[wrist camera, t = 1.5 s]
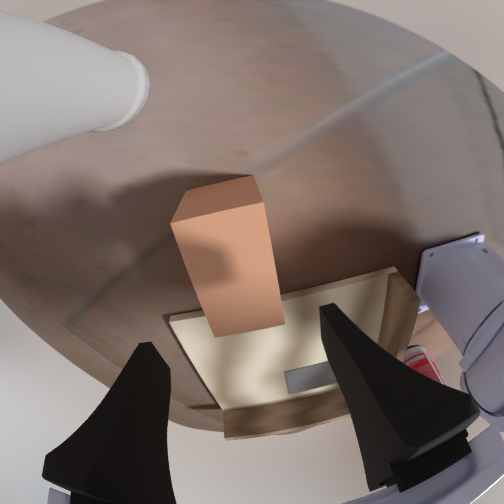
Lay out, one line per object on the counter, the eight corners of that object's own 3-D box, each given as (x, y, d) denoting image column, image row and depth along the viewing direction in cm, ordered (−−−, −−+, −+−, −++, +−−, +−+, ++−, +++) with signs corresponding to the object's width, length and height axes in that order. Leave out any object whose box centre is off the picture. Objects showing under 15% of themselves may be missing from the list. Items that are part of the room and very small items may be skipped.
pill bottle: (377, 373, 31) (406, 441, 21) (407, 342, 28) (445, 412, 18) (404, 374, 32) (432, 433, 23) (431, 345, 30) (466, 406, 20)
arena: (393, 266, 22) (421, 299, 18) (373, 375, 31) (385, 404, 27) (170, 315, 22) (161, 358, 18) (225, 409, 31) (226, 440, 27)
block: (186, 190, 17) (170, 223, 12) (253, 174, 17) (263, 202, 12) (216, 286, 21) (214, 337, 16) (272, 274, 21) (285, 324, 16)
